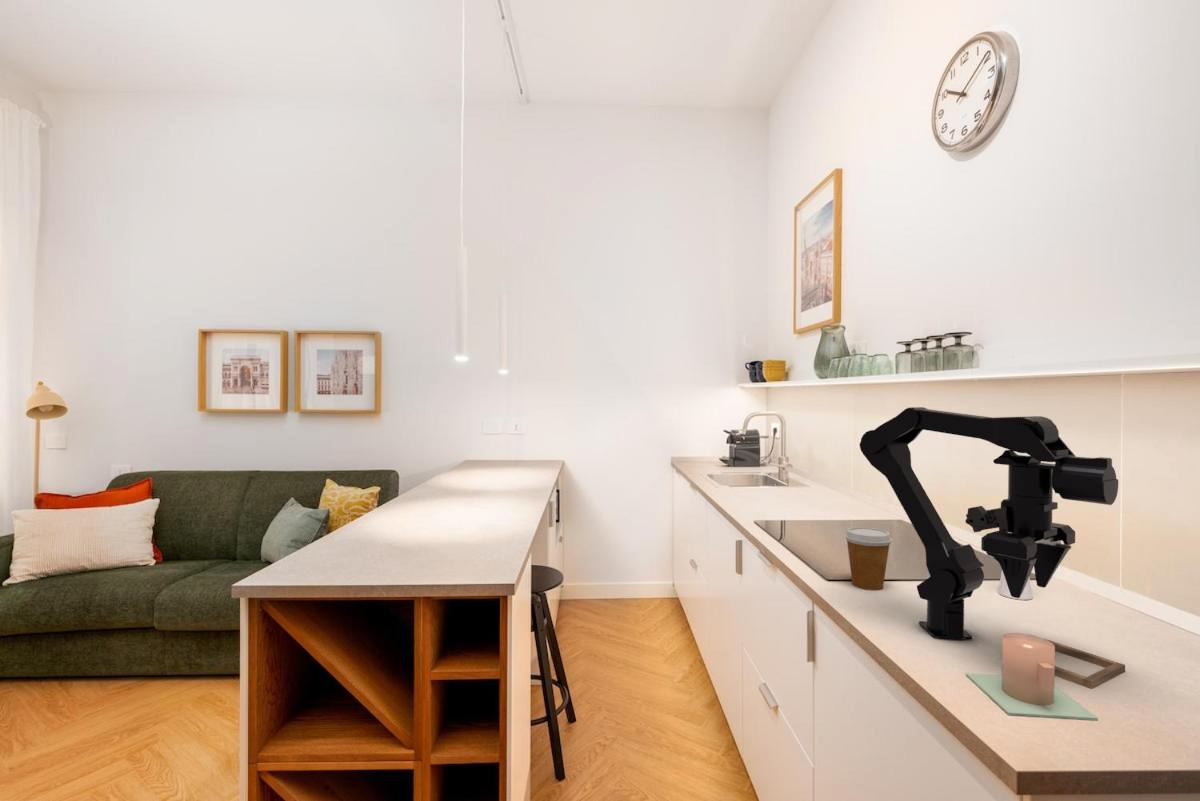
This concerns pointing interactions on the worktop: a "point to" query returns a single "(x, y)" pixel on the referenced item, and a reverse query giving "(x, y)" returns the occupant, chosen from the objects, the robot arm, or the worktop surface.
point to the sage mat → (1011, 706)
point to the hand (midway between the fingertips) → (1028, 591)
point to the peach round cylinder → (1028, 668)
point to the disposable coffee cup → (868, 556)
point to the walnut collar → (1098, 677)
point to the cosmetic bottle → (1005, 591)
